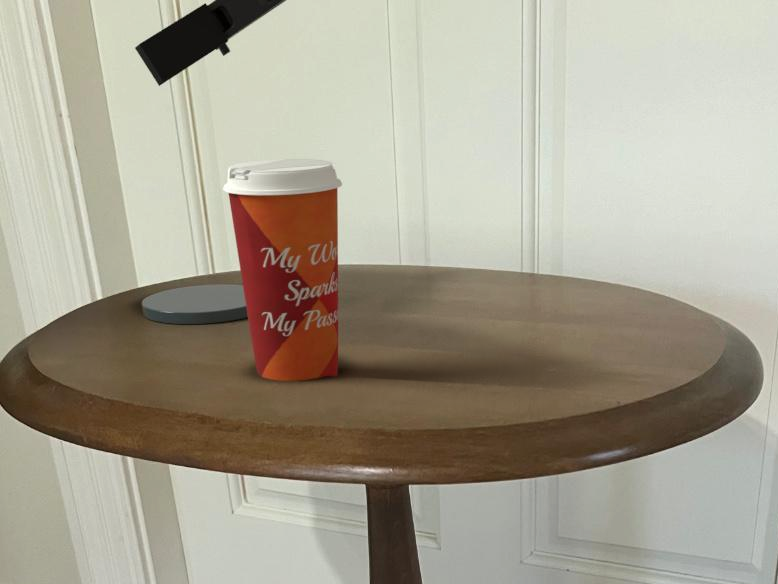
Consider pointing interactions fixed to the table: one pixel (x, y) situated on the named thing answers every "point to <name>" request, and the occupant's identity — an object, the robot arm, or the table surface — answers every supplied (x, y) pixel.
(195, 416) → the table surface
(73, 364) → the table surface
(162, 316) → the coaster
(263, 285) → the paper cup
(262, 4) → the robot arm
